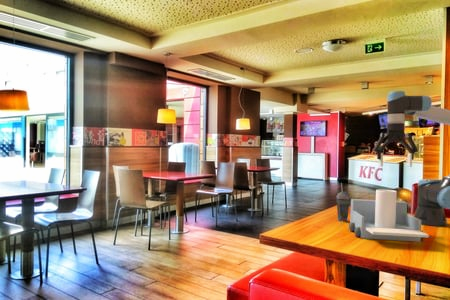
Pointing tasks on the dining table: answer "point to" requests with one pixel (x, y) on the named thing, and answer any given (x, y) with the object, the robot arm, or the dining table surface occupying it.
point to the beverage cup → (343, 205)
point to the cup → (385, 208)
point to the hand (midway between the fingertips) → (395, 166)
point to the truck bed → (365, 217)
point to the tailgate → (396, 232)
